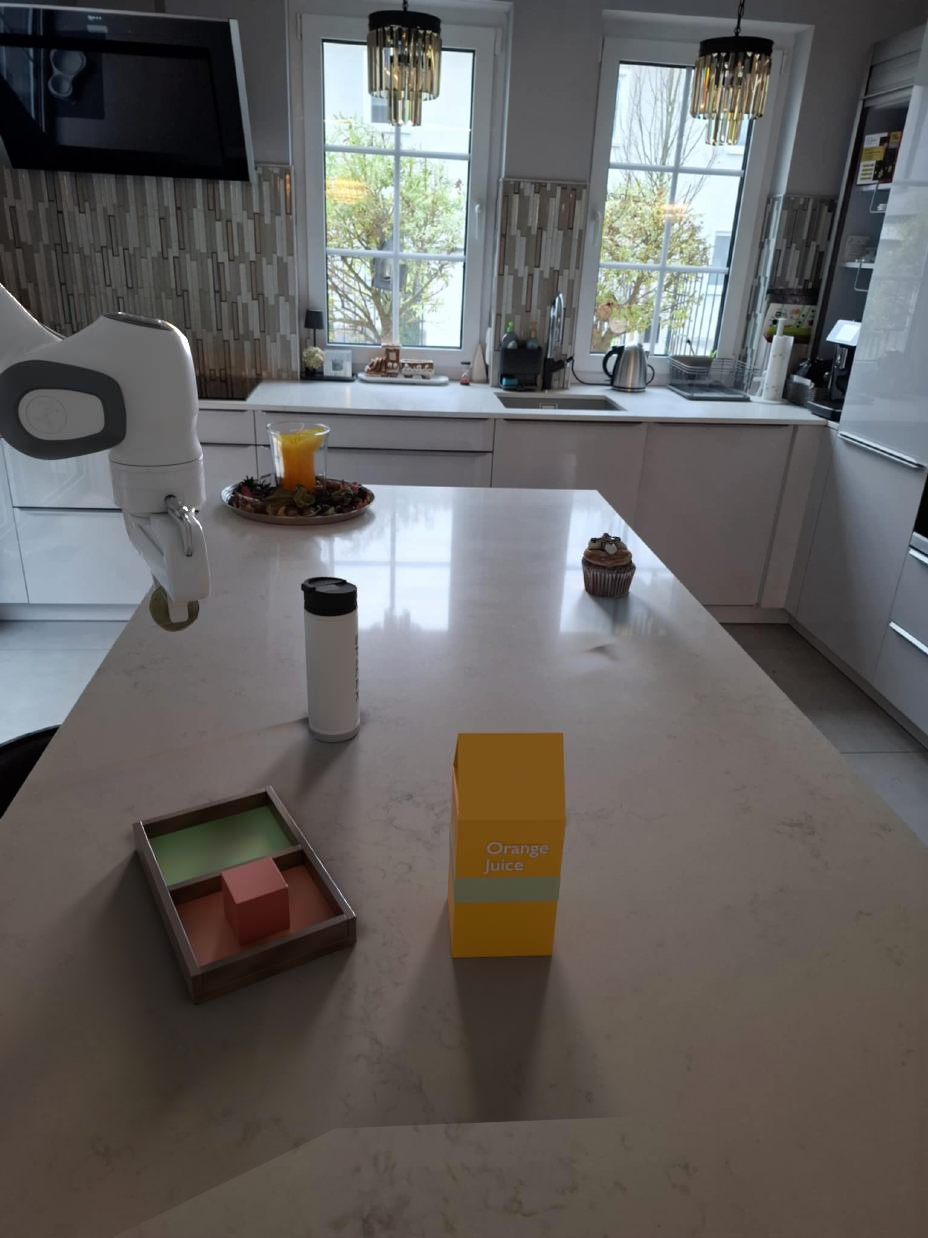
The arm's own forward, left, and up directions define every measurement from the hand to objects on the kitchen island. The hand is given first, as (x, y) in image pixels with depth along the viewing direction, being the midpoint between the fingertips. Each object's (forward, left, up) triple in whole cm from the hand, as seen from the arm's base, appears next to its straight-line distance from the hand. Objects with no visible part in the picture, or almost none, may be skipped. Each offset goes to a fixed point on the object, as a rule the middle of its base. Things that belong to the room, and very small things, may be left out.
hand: (172, 611), depth 93 cm
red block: (-1, -29, -18) cm, 34 cm away
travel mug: (+18, -1, -19) cm, 26 cm away
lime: (0, -1, -2) cm, 2 cm away
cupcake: (+80, +22, -19) cm, 85 cm away
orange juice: (+18, -39, -19) cm, 47 cm away
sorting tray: (-1, -24, -19) cm, 31 cm away
